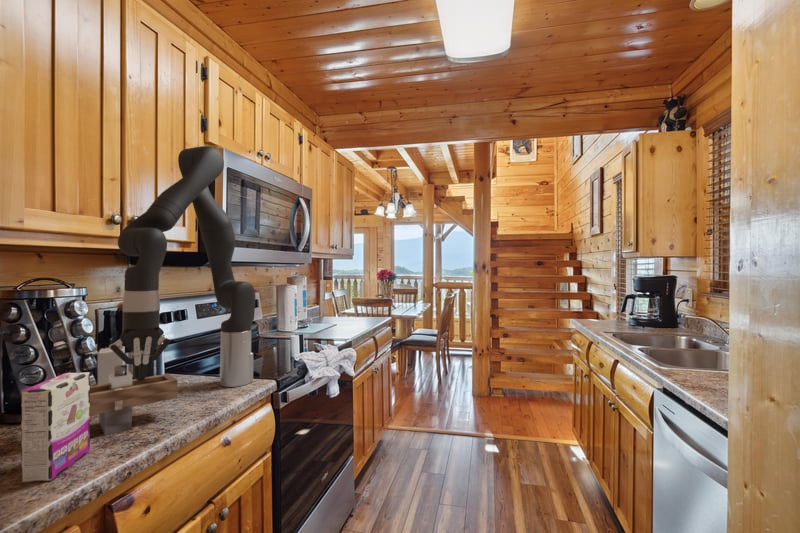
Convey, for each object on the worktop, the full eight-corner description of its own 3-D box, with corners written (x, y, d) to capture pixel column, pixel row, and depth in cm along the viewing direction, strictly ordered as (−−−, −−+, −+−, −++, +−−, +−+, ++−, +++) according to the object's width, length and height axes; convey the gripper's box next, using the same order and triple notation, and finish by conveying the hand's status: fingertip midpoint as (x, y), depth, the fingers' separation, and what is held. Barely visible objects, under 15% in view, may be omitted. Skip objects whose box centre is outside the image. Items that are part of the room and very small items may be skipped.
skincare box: (124, 404, 105) (125, 350, 105) (95, 409, 101) (97, 352, 101) (125, 396, 112) (126, 344, 112) (99, 399, 108) (100, 346, 109)
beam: (167, 408, 103) (168, 372, 103) (177, 418, 96) (177, 380, 96) (45, 434, 86) (46, 392, 86) (47, 448, 79) (48, 402, 79)
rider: (128, 391, 94) (129, 362, 94) (132, 395, 92) (132, 366, 92) (108, 395, 92) (109, 365, 92) (111, 399, 89) (111, 369, 89)
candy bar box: (62, 453, 78) (64, 372, 78) (90, 451, 78) (92, 371, 79) (17, 484, 67) (19, 389, 67) (50, 482, 67) (52, 388, 68)
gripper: (167, 306, 102) (166, 371, 102) (105, 309, 92) (104, 381, 92) (176, 308, 96) (174, 377, 96) (110, 312, 87) (109, 388, 87)
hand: (140, 379), depth 94 cm, fingers closed
